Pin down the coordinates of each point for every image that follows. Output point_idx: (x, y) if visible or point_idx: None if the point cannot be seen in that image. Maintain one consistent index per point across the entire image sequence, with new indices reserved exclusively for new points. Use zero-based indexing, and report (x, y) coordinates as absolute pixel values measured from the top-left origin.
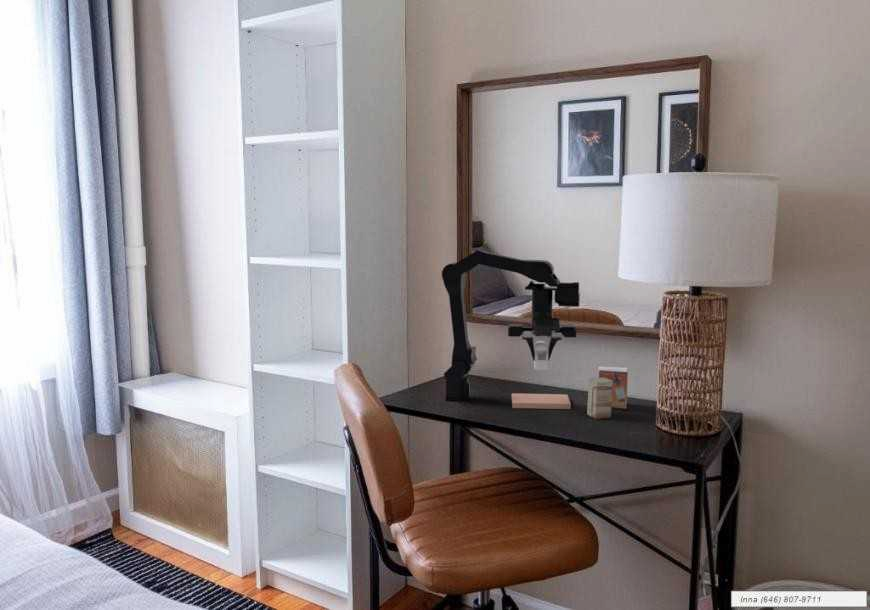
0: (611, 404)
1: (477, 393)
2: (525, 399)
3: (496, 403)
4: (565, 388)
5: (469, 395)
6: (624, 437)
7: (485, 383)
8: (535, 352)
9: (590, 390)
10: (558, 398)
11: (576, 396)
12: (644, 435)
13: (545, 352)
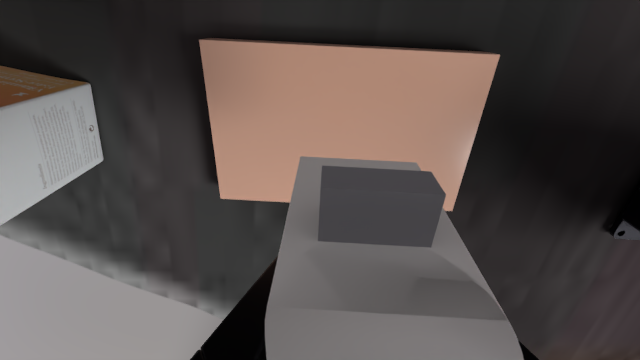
0: (15, 72)
1: (553, 258)
2: (416, 118)
3: (534, 129)
4: (233, 306)
5: (633, 202)
6: None
7: None
8: (486, 288)
9: None
10: (258, 138)
11: (193, 226)
12: None
13: (319, 281)
